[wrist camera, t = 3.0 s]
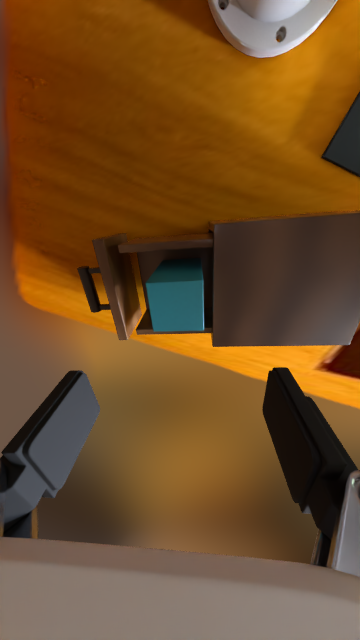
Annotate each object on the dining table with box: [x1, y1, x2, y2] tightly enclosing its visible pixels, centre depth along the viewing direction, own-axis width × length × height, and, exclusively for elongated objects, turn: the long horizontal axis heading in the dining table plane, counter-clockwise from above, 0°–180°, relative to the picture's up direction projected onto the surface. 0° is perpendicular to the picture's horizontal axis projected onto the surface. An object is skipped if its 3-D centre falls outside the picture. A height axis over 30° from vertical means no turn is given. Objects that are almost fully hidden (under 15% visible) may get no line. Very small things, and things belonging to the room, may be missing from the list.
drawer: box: [77, 233, 213, 340], centre depth 25 cm, size 19×12×7 cm, turn 94°
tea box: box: [145, 258, 204, 332], centre depth 22 cm, size 5×5×10 cm
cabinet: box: [208, 210, 360, 347], centre depth 23 cm, size 16×14×9 cm
